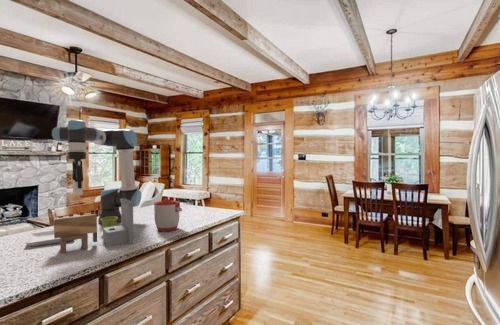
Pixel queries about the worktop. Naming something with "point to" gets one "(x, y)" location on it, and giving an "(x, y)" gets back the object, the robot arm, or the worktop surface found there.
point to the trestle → (83, 239)
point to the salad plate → (42, 238)
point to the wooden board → (76, 226)
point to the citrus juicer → (167, 214)
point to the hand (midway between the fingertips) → (77, 193)
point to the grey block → (121, 226)
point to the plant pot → (109, 221)
